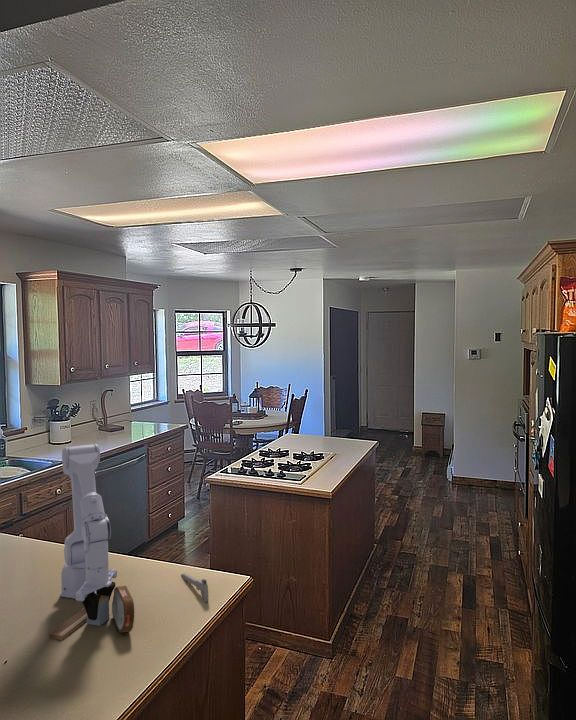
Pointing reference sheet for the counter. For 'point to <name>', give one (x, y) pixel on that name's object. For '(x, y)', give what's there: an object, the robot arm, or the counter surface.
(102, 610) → the tan grey block
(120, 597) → the tin
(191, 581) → the caliper
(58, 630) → the board
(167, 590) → the counter surface
